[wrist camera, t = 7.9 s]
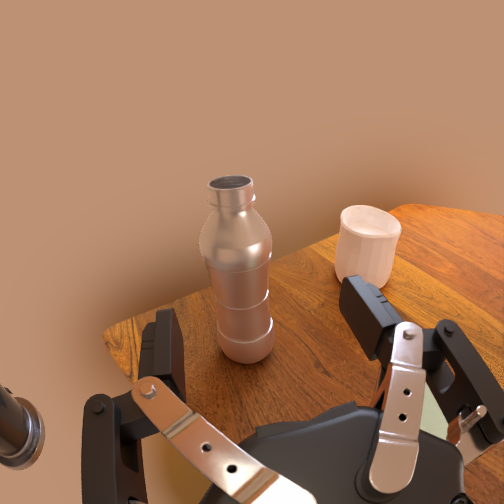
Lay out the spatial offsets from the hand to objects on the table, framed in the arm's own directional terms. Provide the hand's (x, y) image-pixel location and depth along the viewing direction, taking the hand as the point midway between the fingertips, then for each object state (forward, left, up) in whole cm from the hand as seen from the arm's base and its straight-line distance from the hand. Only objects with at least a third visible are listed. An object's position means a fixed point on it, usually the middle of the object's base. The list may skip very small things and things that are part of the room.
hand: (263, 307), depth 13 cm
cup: (+26, +13, -18) cm, 35 cm away
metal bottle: (+4, +11, -18) cm, 22 cm away
